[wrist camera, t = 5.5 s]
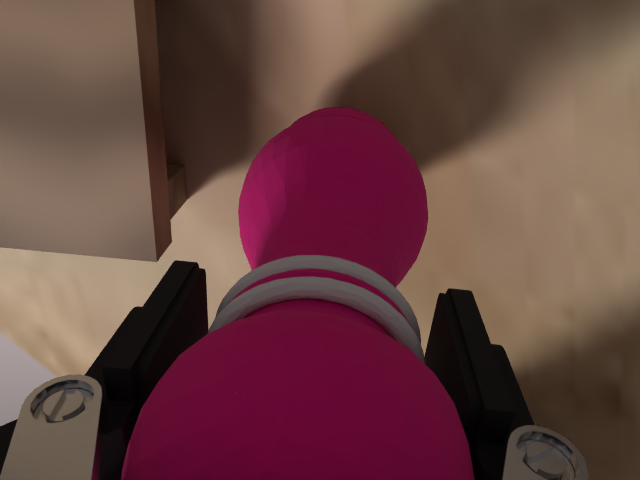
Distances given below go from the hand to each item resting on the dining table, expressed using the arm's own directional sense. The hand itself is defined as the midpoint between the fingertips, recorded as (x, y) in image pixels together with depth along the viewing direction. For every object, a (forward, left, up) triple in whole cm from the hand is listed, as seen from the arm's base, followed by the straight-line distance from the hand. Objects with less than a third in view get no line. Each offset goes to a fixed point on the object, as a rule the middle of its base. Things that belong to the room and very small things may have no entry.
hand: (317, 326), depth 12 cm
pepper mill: (0, 0, -12) cm, 12 cm away
